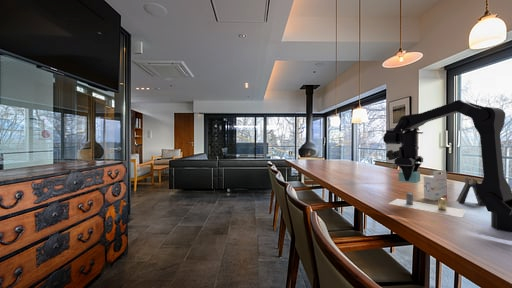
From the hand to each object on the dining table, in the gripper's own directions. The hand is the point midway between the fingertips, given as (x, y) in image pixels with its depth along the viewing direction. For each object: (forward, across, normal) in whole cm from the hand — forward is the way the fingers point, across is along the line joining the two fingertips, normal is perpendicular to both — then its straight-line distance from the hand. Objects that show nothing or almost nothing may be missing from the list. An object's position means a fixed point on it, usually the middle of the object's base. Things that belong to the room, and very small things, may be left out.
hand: (409, 179), depth 95 cm
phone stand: (+12, -21, +18) cm, 30 cm away
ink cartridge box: (+12, -19, +6) cm, 23 cm away
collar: (0, 0, 0) cm, 0 cm away
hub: (+11, 0, +11) cm, 15 cm away
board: (+12, 0, +6) cm, 13 cm away
